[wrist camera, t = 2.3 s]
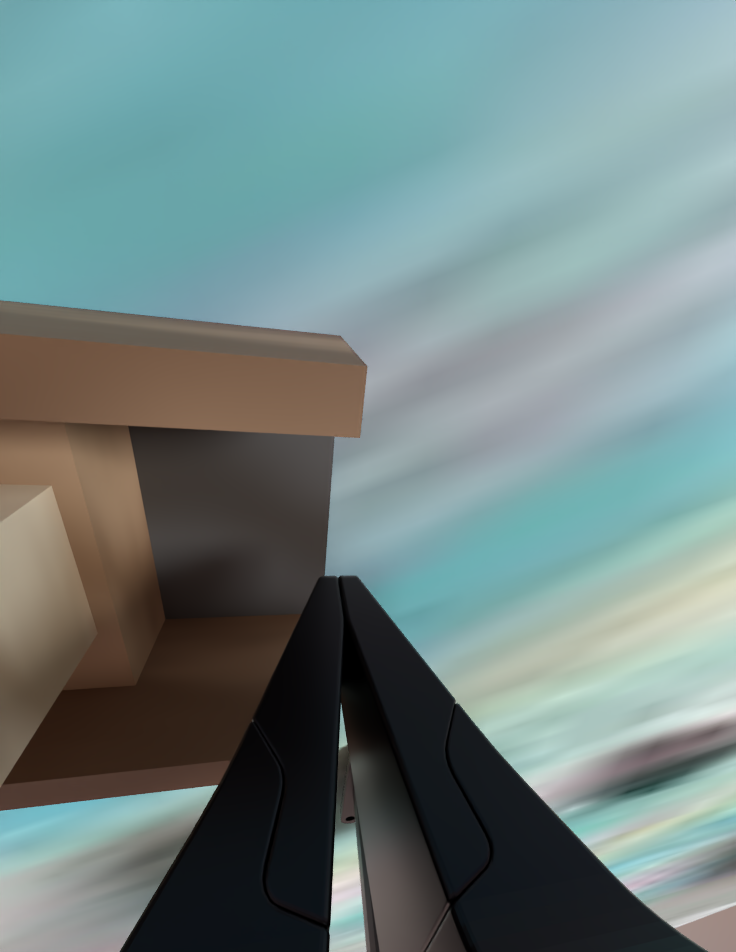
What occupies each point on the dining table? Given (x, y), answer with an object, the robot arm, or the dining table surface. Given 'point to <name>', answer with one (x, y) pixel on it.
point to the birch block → (36, 614)
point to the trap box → (170, 527)
